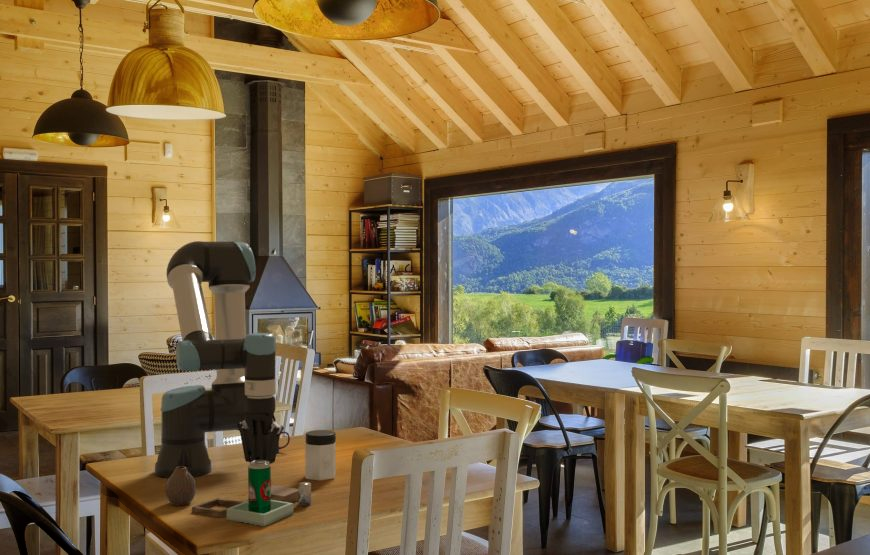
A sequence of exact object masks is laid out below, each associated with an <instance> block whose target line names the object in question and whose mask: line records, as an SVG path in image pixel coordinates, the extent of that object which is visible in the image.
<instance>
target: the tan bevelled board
mask: <svg viewBox="0 0 870 555" xmlns="http://www.w3.org/2000/svg"><path fill="white" fill-rule="evenodd" d="M271 500H276V501H282V502H288V503H293V504H294V503H295V502H298V488H295V487H294V488H293V487H290V486H281V485H273V484H271Z"/></svg>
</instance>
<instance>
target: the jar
mask: <svg viewBox="0 0 870 555" xmlns="http://www.w3.org/2000/svg"><path fill="white" fill-rule="evenodd" d="M336 439H337V436H336V431H334V430H328V429H318V430H317V429H315V430H310V431H307V432H305V445H304V446H305V447H304V448H305V449H304V450H305V452H304V456H305V457H304V458H305V459H304V461H305V463H304V464H305V469H304V471H305V475H304V476H305V477H304V478H305V479H306V480H312V481H326V480H327V481H328V480H333V479H335V478H336V464H337V463H336V456H337V455H336V446H337V445H336V444H337V442H336Z"/></svg>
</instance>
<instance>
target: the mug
mask: <svg viewBox="0 0 870 555" xmlns="http://www.w3.org/2000/svg"><path fill="white" fill-rule="evenodd" d="M282 434H286V435H287V439H288V440H287V443H286V444H285V445H283V446H280V443H279V444H278V449H277V454H278V453H279V452H280V450H282V449H285V448H286V447H287V446H288V445H289V444H290V441H291V436H290V434H289V433H288V431H282V433H281V434H280V436H281V435H282ZM270 435H271V430H270ZM269 439H270V437H269Z"/></svg>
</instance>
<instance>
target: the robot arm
mask: <svg viewBox="0 0 870 555" xmlns="http://www.w3.org/2000/svg"><path fill="white" fill-rule="evenodd" d="M256 270H257V268H256V259H255V256H254V252H253V250H252V247H250V245H249V244H248V243H246V242H243V241H200V240H199V241H197V240H196V241H191V242H188V243H186V244H184V245H182V246H181V247H180V248H178V249H177V250H176V251H175V252H174V253H173V254H172V256H171V258H170V259H169V261H168V264H167V266H166V279H167V284H168V286H169V287H170V288H171V289H172V291H173V297H174V302H175V309H176V313H177V314H176V315H177V319H178V324H179V331H180V335H181V336H180V337H181V339H182V340H180V341H178V342H177V343H176V347H175V349H176V350H175V358H176V367H177V369H178V370H180V371H184V372H187V371H189V372H197V371H199V372H200V371H211V370H212V371H214V370H216V378H215V379H214V380H213V381H212V382H211V389H209V390H206V387H205V386H204V385H201V384H200V385H199V384H196V385H186V386H180V387H177V388H176V387H175V388H172V389H169V390H167V391H166V392H164V393H163V394H162V397H161V406H160V412H161V421H160V422H161V426H160V427H161V430H160V431H161V432H160V433H161V434H160V435H161V436H160V437H161V438H160V439H161V442H160V444H161V446H160V449H159V451H158V456H157V459H156V462H155V463H154V475H156V476H158V477H161V478H168V479H169V478H170V476H171V475H172V474H173V472H174V471H175V468H176V467H179V466H185V467H186V468H187V470H188V472H189V473H190V474H191V475H192V477H193V478H194V477H198V476H202V475H205V474H208V473H209V472H211V471H212V460H211V459H210V457H209V453H208V449H207V448H208V447H207V445H206V436H205V435H206V433H213V432H215V433H216V432H224V431H225V432H226V431H239V433H240V439H241V440H240V441H241V445H242V450H243V451H242V452H243V455H244V460H245V462H246V463H250V462H251V461H255V460H267V461H269V464H270V465H271V464H273V463H275V462H276V458H277V454H278V453H277V449H278V444H279V445H280V438H281V435H282V434H283V433H282V432H284V429H285V428H284V425H279V424H278V423H277V422H276V421H277V419H276V417H275V412H276V397H275V395H276V392H277V391H276V390H277V389H276V387H277V386H276V385H277V384H276V383H277V382H276V351H277V345H276V337H275V335H274V334H273V333H267V332H255V333H248V334H247V322H246V321H247V320H246V318H247V317H246V295H245V294H246V293H247V291H249V289H250V287H251V286H250V285H251V284H250V283H252V282H254V281H255V279H256V274H257V273H256V272H257V271H256ZM203 283H208V290H209V291H211V292H212V293H213V294H214V325H215V326H214V328H215V330H214V331H215V332H214V333H215V339H214V338H213V333H212V328H211V324H210V319H209V314H208V310H207V305H206V302H205V301H206V300H205V296H204V292H203V287H202V286H203V285H202V284H203ZM270 430H271V435H270ZM281 433H282V434H281ZM280 434H281V435H280ZM269 437H270V439H269Z"/></svg>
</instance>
